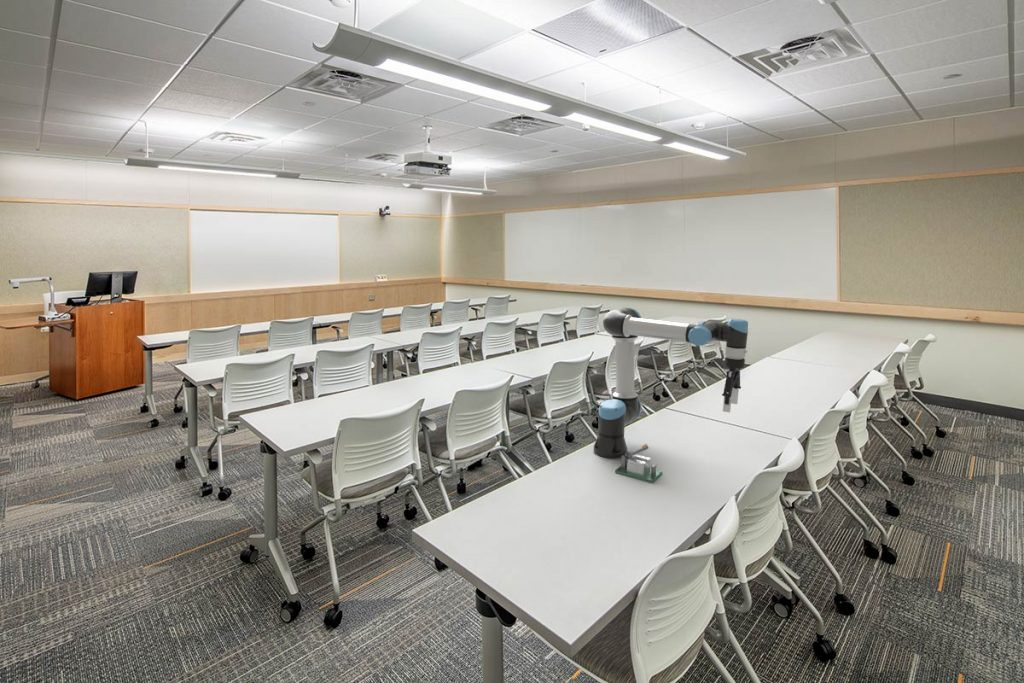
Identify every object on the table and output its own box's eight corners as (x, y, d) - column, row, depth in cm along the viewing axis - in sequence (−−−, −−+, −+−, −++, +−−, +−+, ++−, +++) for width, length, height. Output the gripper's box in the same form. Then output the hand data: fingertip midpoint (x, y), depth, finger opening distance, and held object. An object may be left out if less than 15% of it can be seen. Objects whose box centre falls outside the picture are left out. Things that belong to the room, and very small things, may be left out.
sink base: (615, 472, 215) (615, 457, 214) (625, 463, 224) (626, 449, 222) (652, 482, 206) (653, 467, 204) (662, 473, 215) (663, 458, 213)
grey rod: (624, 459, 216) (621, 455, 217) (626, 457, 218) (623, 453, 218) (646, 449, 210) (644, 445, 210) (648, 448, 211) (646, 443, 212)
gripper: (738, 364, 198) (733, 417, 202) (750, 353, 219) (745, 401, 223) (717, 361, 202) (713, 413, 206) (731, 351, 223) (727, 398, 227)
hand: (730, 407), depth 214 cm, fingers open, 13 cm apart
